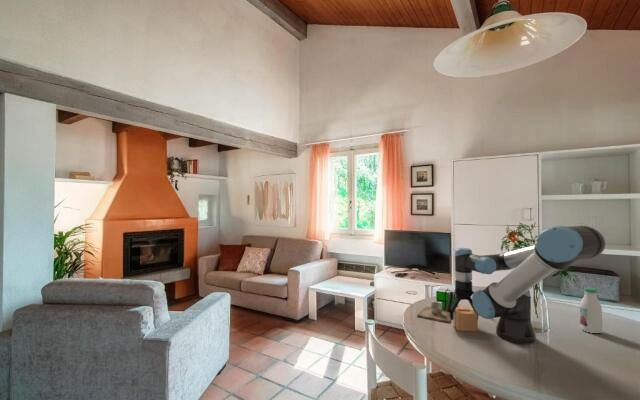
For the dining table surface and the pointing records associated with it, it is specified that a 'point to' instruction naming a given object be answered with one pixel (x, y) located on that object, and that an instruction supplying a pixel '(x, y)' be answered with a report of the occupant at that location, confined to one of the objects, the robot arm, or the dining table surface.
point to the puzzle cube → (444, 296)
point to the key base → (434, 316)
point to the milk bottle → (590, 312)
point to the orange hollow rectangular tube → (465, 319)
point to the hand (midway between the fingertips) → (464, 326)
